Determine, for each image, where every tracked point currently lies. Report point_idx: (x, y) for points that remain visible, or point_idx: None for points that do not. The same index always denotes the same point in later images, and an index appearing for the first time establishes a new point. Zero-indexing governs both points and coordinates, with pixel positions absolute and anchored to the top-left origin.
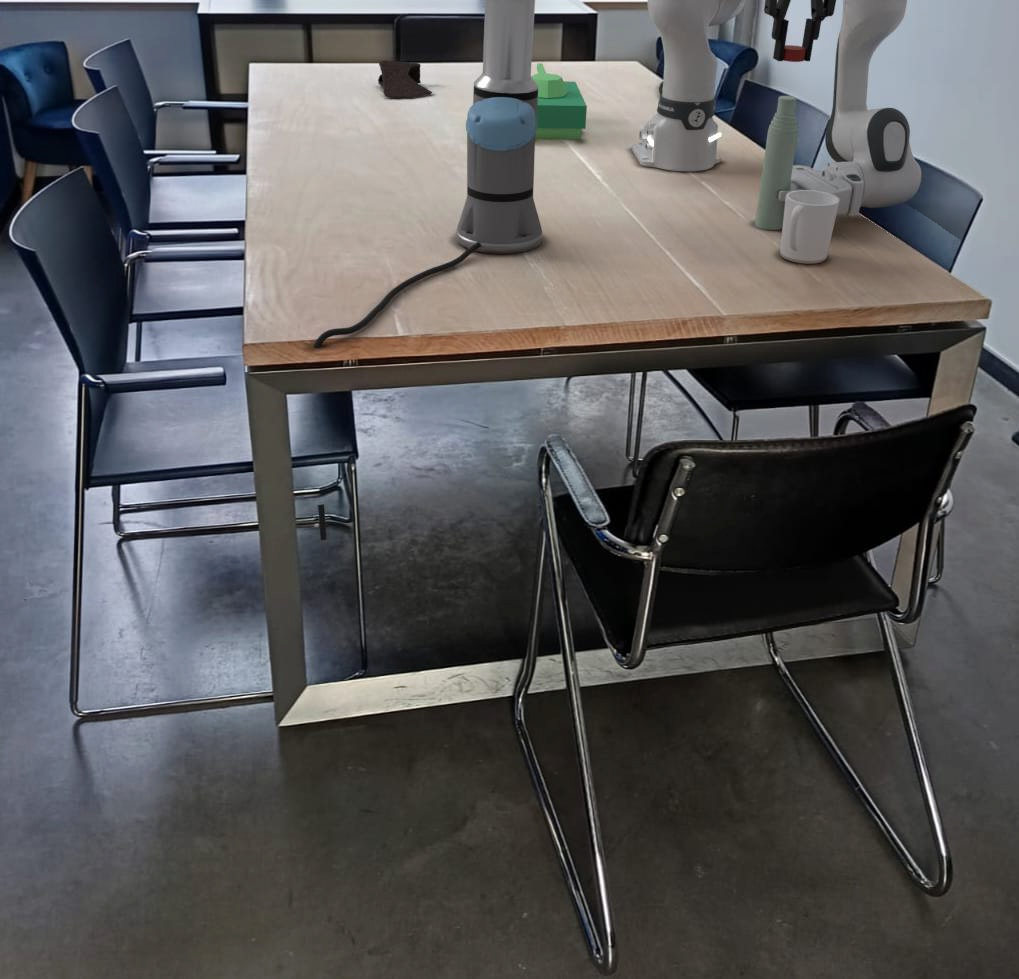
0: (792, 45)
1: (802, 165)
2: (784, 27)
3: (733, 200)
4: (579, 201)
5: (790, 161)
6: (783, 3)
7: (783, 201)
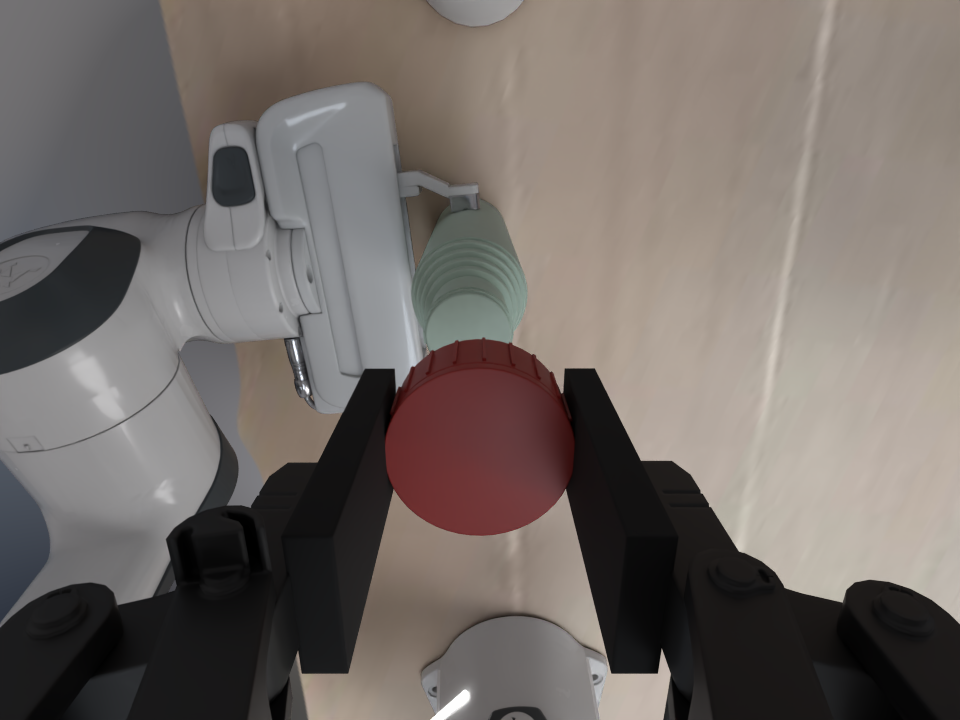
0: (453, 529)
1: (333, 403)
2: (648, 494)
3: None
4: (848, 449)
5: (445, 227)
6: (826, 718)
7: None
